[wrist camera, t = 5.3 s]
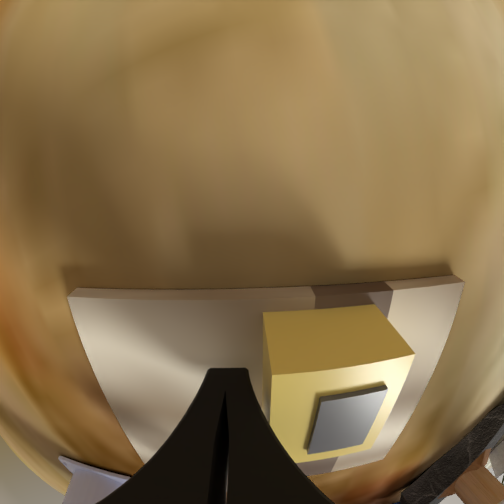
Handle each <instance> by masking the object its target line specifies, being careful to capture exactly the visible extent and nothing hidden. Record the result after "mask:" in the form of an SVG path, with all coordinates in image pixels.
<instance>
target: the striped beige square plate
mask: <svg viewBox="0 0 504 504" xmlns="http://www.w3.org/2000/svg"><path fill="white" fill-rule="evenodd" d="M464 283H465V282H464V281H463V280H461V279H460V278H458V277H457V276H455V275H449V276H439V277H429V278H419V279H408V280H396V281H383V282H370V283H356V284H340V285H322V286H302V287H279V288H248V289H187V290H157V289H99V288H76V289H75V290H74V291H73V292H71V293H70V294H69V295H68V296H67V298H68V302H69V305H70V308H71V312H72V315H73V318H74V321H75V324H76V327H77V330H78V333H79V336H80V338H81V341H82V344H83V346H84V349H85V352H86V354H87V357H88V359H89V362H90V364H91V366H92V369H93V371H94V373H95V376H96V378H97V380H98V382H99V384H100V387H101V389H102V391H103V393H104V395H105V397H106V399H107V401H108V403H109V405H110V407H111V409H112V411H113V412H114V414H115V416H116V418H117V420H118V422H119V423H120V425H121V427H122V429H123V430H124V432H125V434H126V435H127V437H128V439H129V440H130V442H131V444H132V445H133V447H134V448H135V450H136V452H137V453H138V455H139V456H140V458H141V459H142V461H143V462H144V464H146V463H147V462H148V461H149V460H150V459H151V457H152V456H153V455H154V454H155V453H156V452H157V451H158V450H159V448H160V447H161V446H162V445H163V444H164V442H165V441H166V440H167V439H168V437H169V436H170V435H171V433H172V432H173V431H174V429H175V428H176V426H177V425H178V423H179V422H180V420H181V419H182V418H183V416H184V414H185V413H186V411H187V410H188V408H189V406H190V404H191V403H192V401H193V399H194V398H195V396H196V394H197V392H198V390H199V388H200V386H201V384H202V382H203V380H204V377H205V375H206V373H207V370H208V369H210V368H247V369H248V370H249V376H250V380H251V384H252V387H253V390H254V393H255V395H256V398H257V400H258V403H259V405H260V407H261V409H262V377H263V312H280V311H298V310H314V309H327V308H340V307H351V306H361V305H371V304H375V305H376V306H377V308H378V309H379V310H380V311H381V312H382V313H383V315H384V316H385V317H386V318H387V319H388V321H389V322H390V323H391V324H392V325H393V327H394V328H395V329H396V330H397V331H398V333H399V334H400V335H401V336H402V338H403V339H404V340H405V341H406V342H407V344H408V345H409V346H410V347H411V349H412V350H413V351H414V353H415V357H414V359H413V362H412V365H411V367H410V370H409V372H408V375H407V377H406V380H405V382H404V384H403V387H402V389H401V391H400V393H399V396H398V398H397V400H396V402H395V404H394V406H393V408H392V410H391V412H390V414H389V416H388V418H387V420H386V422H385V424H384V426H383V428H382V430H381V431H380V433H379V435H378V437H377V439H376V440H375V442H374V444H373V446H372V447H371V449H368V450H364V451H360V452H356V453H351V454H347V455H342V456H337V457H332V458H327V459H321V460H315V461H308V462H301V463H296V464H297V466H298V467H299V468H300V469H301V470H302V472H303V473H304V474H305V475H306V476H310V475H317V474H323V473H328V472H333V471H338V470H343V469H347V468H352V467H356V466H360V465H364V464H367V463H371V462H375V461H378V460H381V459H384V457H385V456H386V454H387V453H388V451H389V450H390V449H391V447H392V446H393V444H394V443H395V441H396V440H397V438H398V436H399V435H400V433H401V432H402V430H403V428H404V427H405V425H406V423H407V422H408V420H409V418H410V417H411V415H412V413H413V411H414V409H415V408H416V406H417V404H418V402H419V400H420V398H421V396H422V394H423V392H424V391H425V389H426V386H427V384H428V382H429V380H430V378H431V376H432V374H433V372H434V369H435V367H436V365H437V363H438V360H439V358H440V355H441V353H442V351H443V348H444V346H445V343H446V340H447V338H448V335H449V332H450V329H451V327H452V324H453V321H454V318H455V315H456V311H457V308H458V305H459V302H460V298H461V295H462V291H463V287H464Z"/></svg>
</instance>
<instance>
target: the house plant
mask: <svg viewBox="0 0 504 504" xmlns="http://www.w3.org/2000/svg"><path fill="white" fill-rule="evenodd" d="M489 459H490V462H491V464H492V467H493V470H494V473H495V477H496V479H497V478H498V477H499V476H500V475H502V474H503V473H504V440H503V441H502V442H501V443H500V444H499V445H498V446H497V447H496V448H495V449H494V450H493V451H492V452H491V453H490V455H489ZM503 481H504V476H503V480H502V485H503ZM503 486H504V485H503Z"/></svg>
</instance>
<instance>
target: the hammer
mask: <svg viewBox="0 0 504 504" xmlns="http://www.w3.org/2000/svg"><path fill="white" fill-rule="evenodd" d="M503 435H504V404H502V405H500V406H498V407H496V408H495V409H493V410H492V411H491V412H489V413H488V415H487V416H486V417H485V418H484V419H483V420H482V421H481V422H480V423H479V424H478V425H477V426H476V427H475V428H474V429H473V430H472V431H471V432H470V433H469V434H468V435H467V436H466V437H465V438H463V439H462V440H461V441H460V442H459V443H458V444H457V445H456V446H454V447H453V448H452V449H451V450H450V451H449V452H447V453H446V454H445V455H444V456H442V457H441V458H440V459H439V460H437V461H436V462H435V463H434V464H433V465H432V466H431V467H430V468H429V469H428V470H427V471H426V472H425V473H424V474H422V475H421V476H420V477H419V478H418V479H417V480H416V481H415V482H414V483H412V484H411V485H410V486H409V487H408V488H406V489H405V490H404V491H403V492H402V493H401V498H400V503H398V504H438V503H440V502H441V501H442V500H443V499H444V498H445V497H447V496H449V495H453V494H455V493H456V494H457V496H458V497H459V498H460V499H461V500H462V501H463V503H464V504H498V503H499V502H501V501H502V500H503V499H504V486H503V485H502V484H501V483H500V482H499V481H498V480H497V479H496V478H495V477H494V476H493V475H492V474H491V473H490V472H489V471H488V470H487V469H486V468H485V467H484V466H485V465H486V464H487V461H488V458H489V455H490V451H491V450H492V449H493V447H494V446H495V445H496V444H497V442H498V441H499V440H500V438H501V437H502V436H503Z"/></svg>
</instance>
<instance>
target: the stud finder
mask: <svg viewBox="0 0 504 504" xmlns="http://www.w3.org/2000/svg"><path fill="white" fill-rule="evenodd" d="M414 357H415V353H414V351H413V350H412V349H411V347H410V346H409V345H408V344H407V342H406V341H405V340H404V339H403V338H402V336H401V335H400V334H399V333H398V331H397V330H396V329H395V328H394V327H393V325H392V324H391V323H390V322H389V321H388V319H387V318H386V317H385V316H384V315H383V313H382V312H381V311H380V310H379V309H378V308H377V306H376V305H375V304H371V305H361V306H351V307H340V308H327V309H314V310H298V311H280V312H263V377H262V411H263V413H264V415H265V417H266V419H267V421H268V423H269V425H270V426H271V428H272V430H273V431H274V433H275V435H276V436H277V438H278V440H279V441H280V443H281V444H282V446H283V447H284V448H285V450H286V451H287V453H288V454H289V455H290V457H291V458H292V459H293V461H294V462H295V463H301V462H308V461H315V460H321V459H327V458H332V457H337V456H342V455H347V454H351V453H356V452H360V451H364V450H368V449H371V447H372V446H373V444H374V442H375V440H376V439H377V437H378V435H379V433H380V431H381V430H382V428H383V426H384V424H385V422H386V420H387V418H388V416H389V414H390V412H391V410H392V408H393V406H394V404H395V402H396V400H397V398H398V396H399V393H400V391H401V389H402V387H403V384H404V382H405V380H406V377H407V375H408V372H409V370H410V367H411V365H412V362H413V359H414Z"/></svg>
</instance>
